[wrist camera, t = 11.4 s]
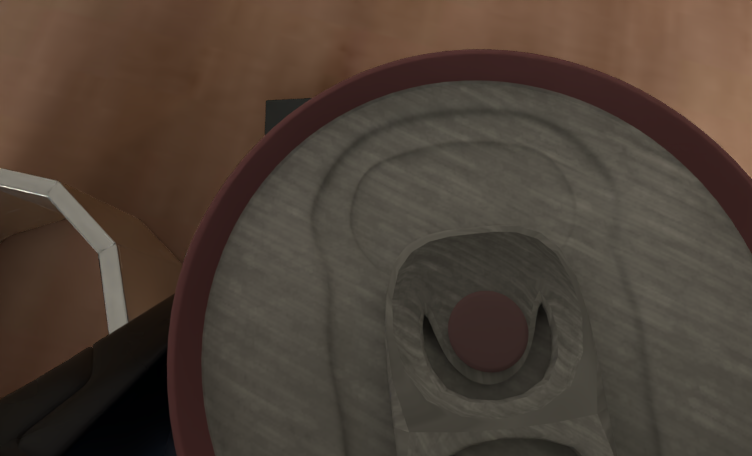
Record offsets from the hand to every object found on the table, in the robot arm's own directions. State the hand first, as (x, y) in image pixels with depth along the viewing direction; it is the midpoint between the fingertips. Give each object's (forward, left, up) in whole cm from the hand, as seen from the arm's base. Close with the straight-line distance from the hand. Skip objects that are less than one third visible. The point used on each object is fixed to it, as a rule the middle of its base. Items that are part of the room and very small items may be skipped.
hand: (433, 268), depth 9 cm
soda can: (-1, +1, -7) cm, 7 cm away
